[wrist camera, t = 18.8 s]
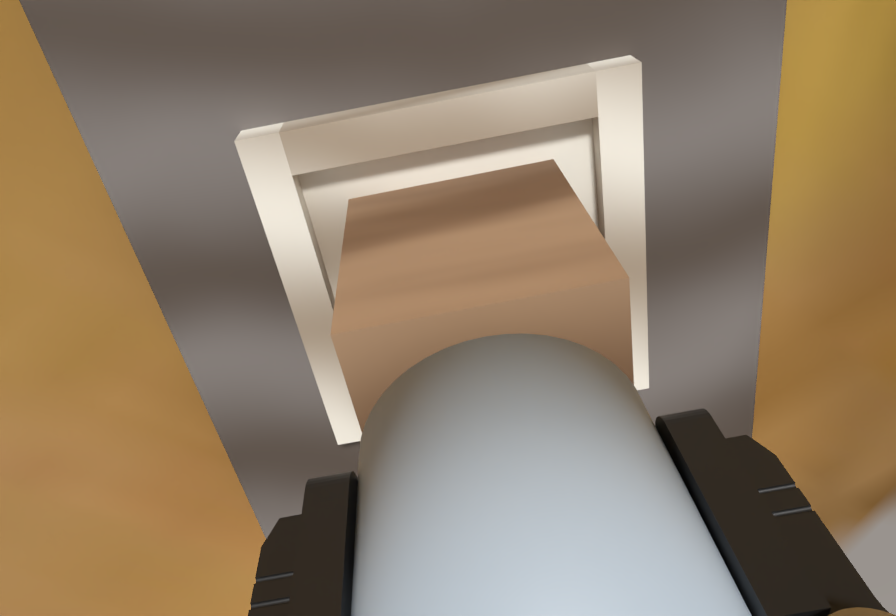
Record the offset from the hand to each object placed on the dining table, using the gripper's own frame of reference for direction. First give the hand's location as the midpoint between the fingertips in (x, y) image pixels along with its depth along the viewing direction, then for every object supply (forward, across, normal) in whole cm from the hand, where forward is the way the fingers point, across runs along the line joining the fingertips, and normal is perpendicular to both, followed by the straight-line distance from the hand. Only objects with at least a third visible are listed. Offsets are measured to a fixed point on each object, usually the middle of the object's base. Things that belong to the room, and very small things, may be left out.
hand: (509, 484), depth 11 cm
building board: (+9, 0, 0) cm, 9 cm away
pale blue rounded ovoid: (+1, 0, 0) cm, 1 cm away
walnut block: (+8, 0, 0) cm, 8 cm away
